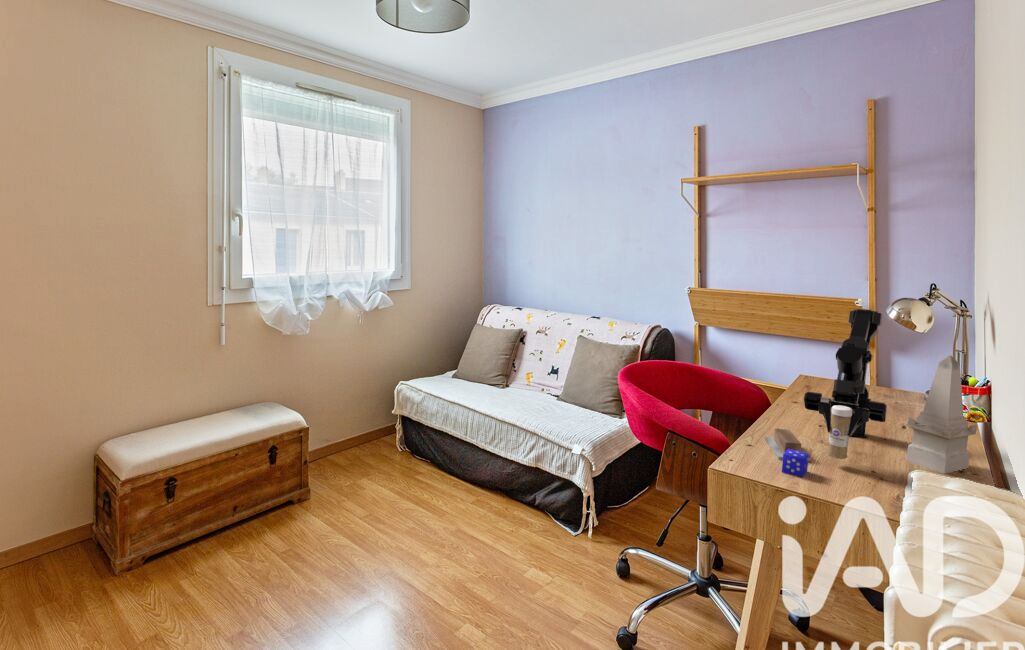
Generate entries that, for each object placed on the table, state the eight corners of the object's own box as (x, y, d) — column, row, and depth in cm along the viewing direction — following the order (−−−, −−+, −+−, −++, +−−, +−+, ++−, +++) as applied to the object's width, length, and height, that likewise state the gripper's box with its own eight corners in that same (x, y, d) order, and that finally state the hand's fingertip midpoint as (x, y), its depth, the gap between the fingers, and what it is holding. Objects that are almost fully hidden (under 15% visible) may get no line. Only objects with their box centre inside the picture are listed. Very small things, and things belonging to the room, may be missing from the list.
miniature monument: (970, 469, 144) (986, 357, 140) (944, 474, 140) (959, 359, 136) (928, 455, 154) (941, 350, 150) (903, 459, 150) (916, 352, 146)
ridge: (793, 442, 163) (795, 428, 162) (810, 462, 147) (811, 447, 147) (764, 439, 164) (765, 425, 164) (778, 459, 149) (779, 444, 148)
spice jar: (825, 456, 145) (830, 407, 143) (829, 451, 148) (834, 403, 146) (845, 461, 142) (850, 411, 140) (848, 456, 145) (853, 407, 143)
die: (786, 466, 144) (787, 448, 144) (807, 471, 141) (809, 453, 141) (781, 472, 140) (783, 453, 140) (803, 477, 137) (804, 458, 137)
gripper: (808, 362, 150) (796, 411, 143) (890, 372, 139) (882, 425, 132) (810, 384, 157) (800, 431, 150) (889, 396, 146) (881, 447, 139)
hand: (838, 433), depth 143 cm, fingers closed on spice jar, 4 cm apart
